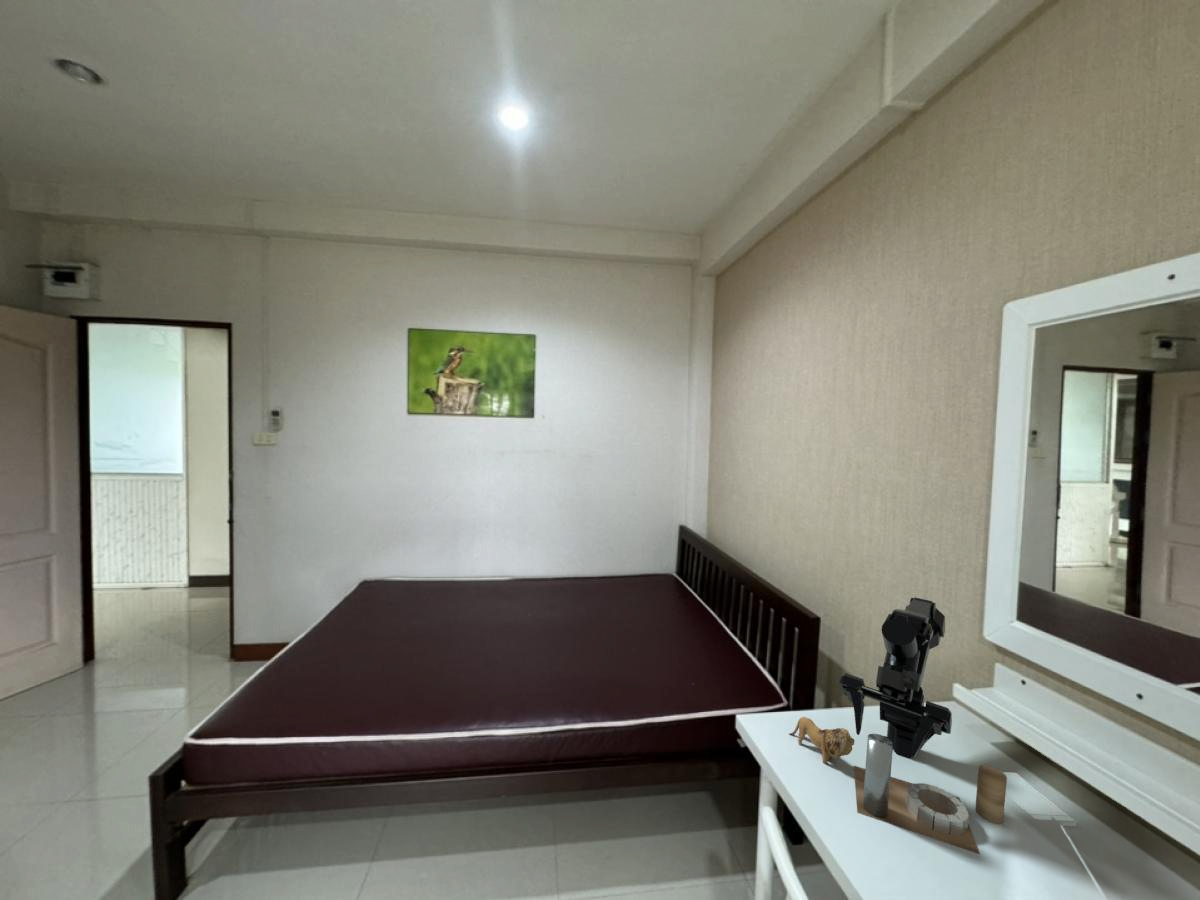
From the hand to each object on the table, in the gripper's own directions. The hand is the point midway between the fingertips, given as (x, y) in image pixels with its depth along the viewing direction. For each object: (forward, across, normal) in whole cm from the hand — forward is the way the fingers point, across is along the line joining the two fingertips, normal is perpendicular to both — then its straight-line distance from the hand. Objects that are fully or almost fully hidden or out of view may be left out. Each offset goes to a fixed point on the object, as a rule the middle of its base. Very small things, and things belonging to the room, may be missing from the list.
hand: (884, 745), depth 91 cm
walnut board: (+7, +4, +9) cm, 12 cm away
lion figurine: (+4, -13, +12) cm, 18 cm away
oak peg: (+1, +16, +15) cm, 22 cm away
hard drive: (-7, +21, +24) cm, 32 cm away
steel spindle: (+10, 0, +4) cm, 11 cm away
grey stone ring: (+5, +8, +9) cm, 13 cm away
